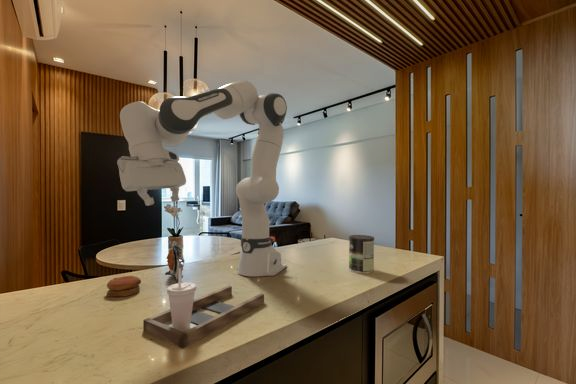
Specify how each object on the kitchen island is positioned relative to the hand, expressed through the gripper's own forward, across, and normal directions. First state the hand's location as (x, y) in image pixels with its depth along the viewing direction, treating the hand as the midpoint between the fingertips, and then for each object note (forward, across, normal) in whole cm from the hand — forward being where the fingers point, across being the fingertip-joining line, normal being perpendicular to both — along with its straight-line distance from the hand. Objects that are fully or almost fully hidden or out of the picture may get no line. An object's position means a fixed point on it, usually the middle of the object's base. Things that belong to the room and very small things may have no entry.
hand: (163, 202), depth 78 cm
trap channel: (+33, -3, -7) cm, 34 cm away
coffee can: (+48, +55, -36) cm, 82 cm away
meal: (+24, +18, +25) cm, 39 cm away
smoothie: (+31, -12, -5) cm, 34 cm away
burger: (+22, +1, +28) cm, 36 cm away
